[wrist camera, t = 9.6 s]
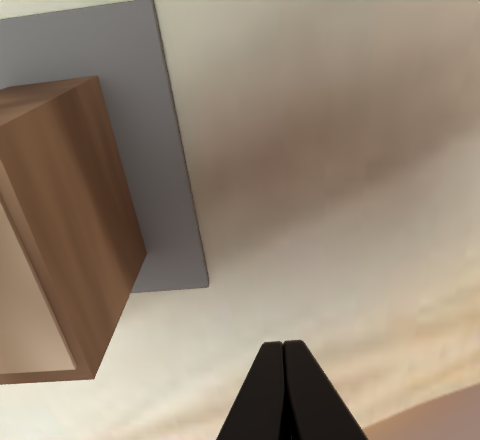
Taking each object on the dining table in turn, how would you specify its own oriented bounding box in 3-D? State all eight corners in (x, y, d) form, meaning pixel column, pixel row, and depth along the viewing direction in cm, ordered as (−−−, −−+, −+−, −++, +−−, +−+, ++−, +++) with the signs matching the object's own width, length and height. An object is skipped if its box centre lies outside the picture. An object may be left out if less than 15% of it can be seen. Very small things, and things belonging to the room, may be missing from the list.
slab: (97, 75, 17) (-15, 133, 10) (147, 253, 22) (92, 382, 14) (8, 86, 18) (-161, 150, 11) (74, 260, 22) (-15, 388, 15)
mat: (152, -2, 16) (150, -2, 16) (209, 282, 23) (208, 287, 23) (-211, 49, 18) (-220, 51, 17) (-59, 303, 24) (-63, 307, 24)
